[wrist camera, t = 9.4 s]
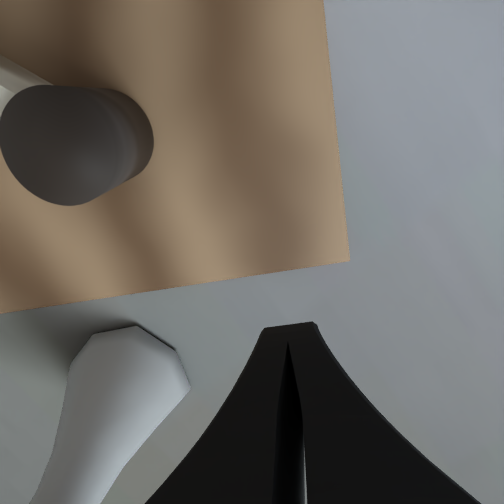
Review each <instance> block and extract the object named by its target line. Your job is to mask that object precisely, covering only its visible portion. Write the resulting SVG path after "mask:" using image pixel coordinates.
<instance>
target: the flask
mask: <svg viewBox="0 0 504 504" xmlns="http://www.w3.org/2000/svg"><path fill="white" fill-rule="evenodd" d="M190 389H191V387H190V384H189V382H188V379H187V377H186V374H185V372H184V369H183V367H182V364H181V362H180V359H179V357H178V354H177V352H176V351H174V350H173V349H171V348H170V347H168V346H167V345H165V344H164V343H162V342H161V341H159V340H158V339H156V338H155V337H153V336H152V335H150V334H148V333H147V332H145V331H144V330H142V329H141V328H139V327H138V326H133V327H128V328H123V329H118V330H112V331H107V332H102V333H97V334H93V335H92V336H91V337H90V339H89V340H88V341H87V343H86V344H85V345H84V347H83V348H82V349H81V350H80V352H79V353H78V354H77V356H76V357H75V358H74V360H73V361H72V362H71V365H70V369H69V374H68V379H67V385H66V390H65V396H64V402H63V407H62V412H61V416H60V421H59V425H58V429H57V434H56V438H55V443H54V447H53V451H52V454H51V457H50V459H49V462H48V464H47V467H46V469H45V472H44V474H43V477H42V479H41V482H40V484H39V486H38V489H37V491H36V493H35V495H34V496H33V498H32V500H31V501H30V503H29V504H100V503H101V501H102V500H103V498H104V497H105V495H106V494H107V492H108V490H109V489H110V487H111V486H112V484H113V482H114V481H115V479H116V478H117V476H118V475H119V473H120V471H121V470H122V468H123V467H124V466H125V464H126V463H127V462H128V461H129V460H130V458H131V457H132V456H133V455H134V454H135V452H136V451H137V450H138V449H139V448H140V446H141V445H142V444H143V443H144V442H145V440H146V439H147V438H148V437H149V436H150V435H151V433H152V432H153V431H154V430H155V429H156V427H157V426H158V425H159V424H160V423H161V422H162V421H163V420H164V418H165V417H166V416H167V415H168V414H169V413H170V412H171V411H172V410H173V408H174V407H175V406H176V405H177V404H178V403H179V402H180V401H181V400H182V399H183V397H184V396H185V395H186V394H187V393H188V391H189V390H190Z"/></svg>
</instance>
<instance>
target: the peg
mask: <svg viewBox="0 0 504 504" xmlns="http://www.w3.org/2000/svg"><path fill="white" fill-rule="evenodd" d="M153 148H154V136H153V130H152V127H151V124H150V121H149V119H148V117H147V115H146V114H145V112H144V111H143V109H142V108H141V107H140V106H139V105H138V104H137V103H136V102H135V101H134V100H133V99H132V98H130V97H129V96H127V95H126V94H124V93H122V92H119V91H116V90H113V89H105V88H89V87H74V86H58V85H53V84H51V83H49V82H47V81H46V80H44V79H42V78H40V77H39V76H37V75H35V74H34V73H32V72H30V71H28V70H27V69H25V68H23V67H21V66H20V65H18V64H16V63H14V62H13V61H11V60H9V59H7V58H6V57H4V56H2V55H0V149H1V152H2V155H3V158H4V160H5V162H6V164H7V166H8V168H9V170H10V171H11V173H12V174H13V175H14V177H15V178H16V179H17V180H18V182H19V183H20V184H21V185H22V186H23V187H24V188H26V189H27V190H28V191H29V192H31V193H32V194H33V195H35V196H37V197H38V198H40V199H42V200H44V201H47V202H50V203H53V204H57V205H62V206H76V205H81V204H84V203H87V202H89V201H91V200H93V199H95V198H97V197H99V196H100V195H102V194H104V193H106V192H108V191H109V190H111V189H113V188H115V187H117V186H119V185H120V184H122V183H124V182H126V181H128V180H129V179H131V178H133V177H135V176H137V175H138V174H139V173H141V172H142V171H143V170H144V169H145V167H146V166H147V165H148V163H149V161H150V159H151V156H152V153H153Z"/></svg>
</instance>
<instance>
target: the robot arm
mask: <svg viewBox="0 0 504 504" xmlns="http://www.w3.org/2000/svg"><path fill="white" fill-rule="evenodd" d="M304 448H305V466H306V484H307V504H481V503H480V502H478V501H477V500H476V499H475V498H474V497H472V496H471V495H470V494H469V493H468V492H466V491H465V490H464V489H463V488H462V487H460V486H459V485H458V484H457V483H456V482H455V481H453V480H452V479H451V478H450V477H449V476H447V475H446V474H445V473H444V472H443V471H441V470H440V469H439V468H438V467H437V466H435V465H434V464H433V463H432V462H431V461H429V460H428V459H427V458H426V457H425V456H424V455H423V454H422V453H421V452H420V451H419V450H417V449H416V448H415V447H414V446H413V445H412V444H411V443H410V442H409V441H408V440H407V439H406V438H405V437H403V436H402V435H401V434H400V433H399V432H398V431H397V430H396V429H395V428H394V427H393V426H392V425H391V424H390V423H389V422H388V421H387V420H386V418H385V417H384V416H383V415H382V414H381V413H380V412H379V411H378V410H377V409H376V408H375V407H374V406H373V404H372V403H371V402H370V401H369V400H368V399H367V398H366V396H365V395H364V394H363V393H362V392H361V391H360V389H359V388H358V387H357V386H356V385H355V383H354V382H353V381H352V380H351V378H350V377H349V376H348V374H347V373H346V372H345V370H344V369H343V368H342V366H341V365H340V364H339V362H338V361H337V360H336V358H335V357H334V355H333V354H332V352H331V351H330V349H329V348H328V346H327V344H326V343H325V341H324V339H323V337H322V335H321V333H320V331H319V329H318V326H317V325H316V324H315V323H314V322H305V323H298V324H290V325H282V326H275V327H267V328H264V329H263V330H262V332H261V334H260V336H259V338H258V341H257V343H256V345H255V347H254V350H253V352H252V354H251V356H250V358H249V360H248V362H247V364H246V366H245V367H244V369H243V371H242V373H241V375H240V377H239V378H238V380H237V382H236V384H235V386H234V387H233V389H232V391H231V392H230V394H229V395H228V397H227V399H226V400H225V402H224V403H223V405H222V406H221V408H220V410H219V411H218V413H217V414H216V416H215V417H214V419H213V420H212V422H211V423H210V425H209V426H208V427H207V429H206V430H205V432H204V433H203V434H202V436H201V437H200V438H199V440H198V441H197V442H196V444H195V445H194V446H193V448H192V449H191V450H190V452H189V453H188V454H187V455H186V457H185V458H184V459H183V460H182V461H181V463H180V464H179V465H178V466H177V467H176V469H175V470H174V471H173V472H172V473H171V474H170V476H169V477H168V478H167V479H166V480H165V482H164V483H163V484H162V485H161V486H160V487H159V488H158V490H157V491H156V492H155V493H154V494H153V495H152V496H151V497H150V498H149V499H148V501H147V502H146V503H145V504H305V489H304Z"/></svg>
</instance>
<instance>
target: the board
mask: <svg viewBox="0 0 504 504" xmlns="http://www.w3.org/2000/svg"><path fill="white" fill-rule="evenodd" d="M0 55H2V56H4V57H6V58H7V59H9V60H11V61H13V62H14V63H16V64H18V65H20V66H21V67H23V68H25V69H27V70H28V71H30V72H32V73H34V74H35V75H37V76H39V77H40V78H42V79H44V80H46V81H47V82H49V83H51V84H53V85H58V86H74V87H89V88H105V89H113V90H116V91H119V92H122V93H124V94H126V95H127V96H129V97H130V98H132V99H133V100H134V101H135V102H136V103H137V104H138V105H139V106H140V107H141V108H142V109H143V111H144V112H145V114H146V115H147V117H148V119H149V121H150V124H151V127H152V130H153V136H154V148H153V153H152V156H151V159H150V161H149V163H148V165H147V166H146V167H145V169H144V170H143V171H142V172H141V173H139V174H138V175H137V176H135V177H133V178H131V179H129V180H128V181H126V182H124V183H122V184H120V185H119V186H117V187H115V188H113V189H111V190H109V191H108V192H106V193H104V194H102V195H100V196H99V197H97V198H95V199H93V200H91V201H89V202H87V203H84V204H81V205H76V206H62V205H57V204H53V203H50V202H47V201H44V200H42V199H40V198H38V197H37V196H35V195H33V194H32V193H31V192H29V191H28V190H27V189H26V188H24V187H23V186H22V185H21V184H20V183H19V182H18V180H17V179H16V178H15V177H14V175H13V174H12V173H11V171H10V170H9V168H8V166H7V164H6V162H5V160H4V158H3V155H2V152H1V149H0V314H1V313H8V312H15V311H21V310H28V309H35V308H41V307H48V306H55V305H61V304H68V303H74V302H81V301H88V300H94V299H101V298H108V297H114V296H121V295H128V294H134V293H141V292H147V291H154V290H161V289H167V288H174V287H181V286H187V285H194V284H201V283H207V282H214V281H220V280H227V279H234V278H240V277H247V276H254V275H260V274H267V273H274V272H280V271H287V270H293V269H300V268H307V267H313V266H320V265H327V264H333V263H340V262H347V261H350V255H349V245H348V236H347V226H346V216H345V207H344V197H343V187H342V178H341V168H340V158H339V149H338V139H337V129H336V119H335V110H334V100H333V90H332V81H331V71H330V61H329V52H328V42H327V32H326V23H325V13H324V3H323V0H0Z"/></svg>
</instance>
